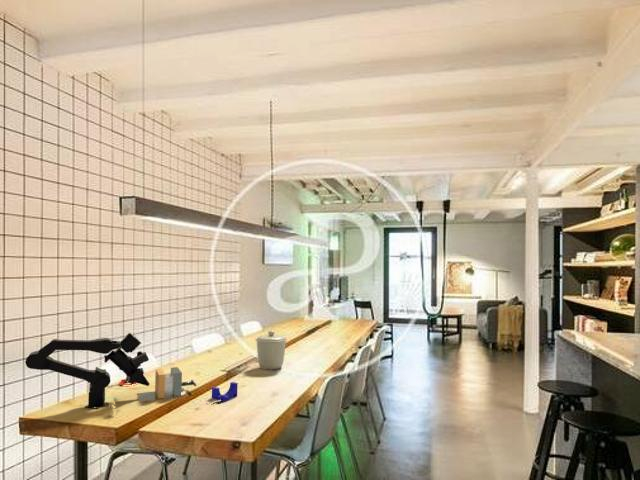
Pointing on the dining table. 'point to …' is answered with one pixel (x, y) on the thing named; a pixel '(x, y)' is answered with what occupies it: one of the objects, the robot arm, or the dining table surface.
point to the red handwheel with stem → (125, 381)
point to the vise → (176, 389)
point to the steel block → (169, 384)
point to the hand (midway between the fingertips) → (148, 384)
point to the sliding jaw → (160, 383)
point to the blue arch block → (230, 393)
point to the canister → (271, 350)
